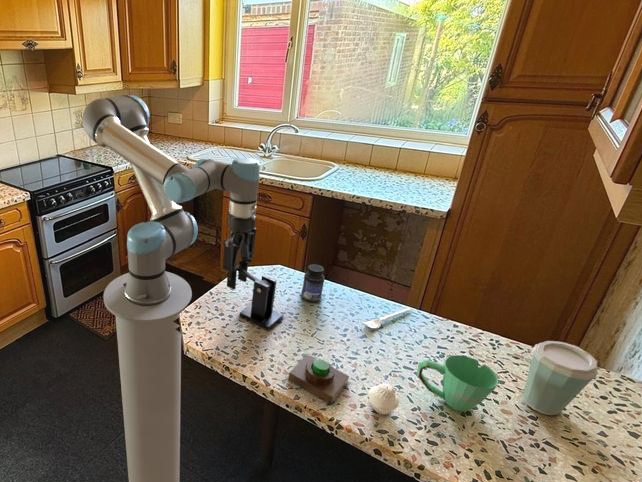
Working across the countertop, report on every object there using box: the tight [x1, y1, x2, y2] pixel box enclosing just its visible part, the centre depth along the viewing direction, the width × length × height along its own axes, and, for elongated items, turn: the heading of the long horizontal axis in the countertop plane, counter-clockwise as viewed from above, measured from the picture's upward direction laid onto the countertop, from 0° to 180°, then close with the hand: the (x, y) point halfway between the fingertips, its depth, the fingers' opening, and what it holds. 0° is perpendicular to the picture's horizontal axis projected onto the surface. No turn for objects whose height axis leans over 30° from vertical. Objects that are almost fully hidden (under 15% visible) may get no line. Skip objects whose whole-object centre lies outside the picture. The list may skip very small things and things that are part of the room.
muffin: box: [368, 382, 400, 415], centre depth 89 cm, size 6×6×7 cm
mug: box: [416, 354, 500, 413], centre depth 90 cm, size 15×10×10 cm
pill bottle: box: [300, 263, 326, 303], centre depth 127 cm, size 6×6×11 cm
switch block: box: [288, 353, 350, 405], centre depth 97 cm, size 11×9×4 cm
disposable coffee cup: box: [522, 340, 599, 416], centre depth 88 cm, size 11×11×15 cm
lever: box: [235, 263, 272, 290], centre depth 118 cm, size 12×5×2 cm, turn 47°
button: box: [312, 358, 329, 375], centre depth 96 cm, size 4×4×2 cm
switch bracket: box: [239, 274, 284, 331], centre depth 117 cm, size 10×8×13 cm
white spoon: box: [361, 308, 411, 329], centre depth 119 cm, size 3×20×2 cm, turn 116°
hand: (236, 283), depth 123 cm, fingers closed on lever, 5 cm apart
